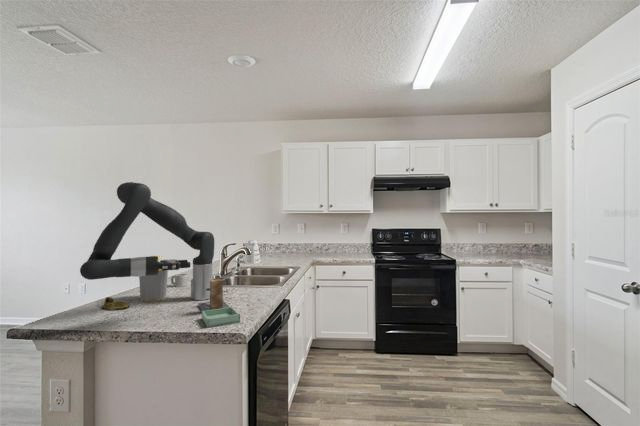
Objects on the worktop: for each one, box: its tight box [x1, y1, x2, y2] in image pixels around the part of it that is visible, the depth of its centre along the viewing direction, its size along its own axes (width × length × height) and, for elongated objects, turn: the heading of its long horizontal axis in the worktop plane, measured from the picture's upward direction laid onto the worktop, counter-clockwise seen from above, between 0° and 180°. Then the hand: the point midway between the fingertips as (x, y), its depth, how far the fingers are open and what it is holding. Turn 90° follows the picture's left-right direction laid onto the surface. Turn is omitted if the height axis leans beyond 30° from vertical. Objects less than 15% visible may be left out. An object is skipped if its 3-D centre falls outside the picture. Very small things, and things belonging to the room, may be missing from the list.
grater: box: [244, 240, 262, 265], centre depth 286 cm, size 10×10×20 cm
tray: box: [201, 306, 241, 329], centre depth 124 cm, size 12×12×3 cm
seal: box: [101, 296, 131, 312], centre depth 143 cm, size 9×5×15 cm
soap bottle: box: [138, 255, 169, 302], centre depth 160 cm, size 13×13×21 cm
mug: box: [170, 273, 188, 288], centre depth 189 cm, size 10×7×7 cm
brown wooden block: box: [209, 278, 224, 310], centre depth 138 cm, size 4×4×12 cm
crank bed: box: [197, 288, 230, 312], centre depth 141 cm, size 11×16×8 cm
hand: (188, 263), depth 132 cm, fingers open, 8 cm apart
